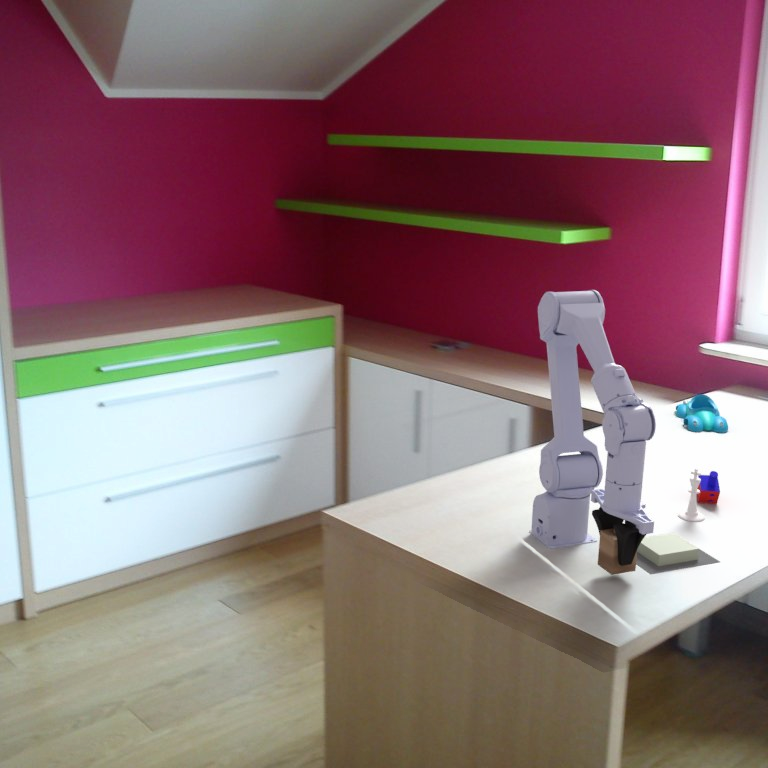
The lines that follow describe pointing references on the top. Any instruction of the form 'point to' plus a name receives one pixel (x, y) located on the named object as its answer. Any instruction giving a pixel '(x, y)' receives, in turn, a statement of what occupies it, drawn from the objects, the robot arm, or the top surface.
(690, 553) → the base block
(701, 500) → the toy building block
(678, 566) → the build mat
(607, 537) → the walnut snap block
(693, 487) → the chess piece
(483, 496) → the top surface
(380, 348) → the top surface
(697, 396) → the toy car
